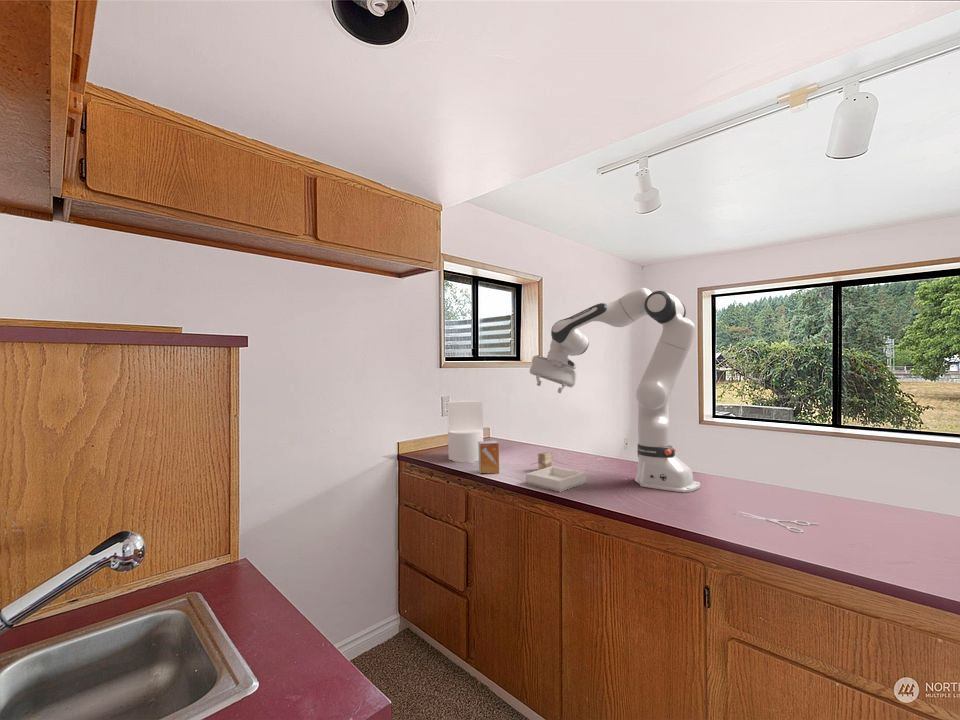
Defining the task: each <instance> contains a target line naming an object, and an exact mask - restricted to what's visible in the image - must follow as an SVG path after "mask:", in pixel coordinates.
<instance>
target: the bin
mask: <svg viewBox="0 0 960 720" xmlns="http://www.w3.org/2000/svg"><path fill="white" fill-rule="evenodd" d="M586 476H587V475H586V472H583V471H577V470H572V469H568V468H564V467H558V466H554V465H552V466H551V467H548V468H544V469H541V470H538V469H537V470H533V471H531V472H526V473H525V484H526V485H529V486H532V485H533V487H536V486H537V487H536V488H541V489H544V488H545V490H548V489H551V490H550V491H552V490H555V491H554V492H556V491H559V492H558V493H561V492H560V491H562V492H564V491H563V490H565V491H568V490H570V488H571V489H574V488H576V486H577V487H579V485H580V486H582V485H585V484H587V483H586V481H587V477H586ZM573 487H574V488H573ZM567 489H568V490H567Z"/></svg>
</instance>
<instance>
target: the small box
mask: <svg viewBox="0 0 960 720" xmlns="http://www.w3.org/2000/svg"><path fill="white" fill-rule="evenodd" d="M499 445H500V444H499V442H498V441H497V440H483V441H478V451H479V461H478V471H480V472H479V474H481V473H494V474H500V446H499Z"/></svg>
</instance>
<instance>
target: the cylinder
mask: <svg viewBox="0 0 960 720" xmlns="http://www.w3.org/2000/svg"><path fill="white" fill-rule="evenodd" d="M446 404H447V437H448V439H447V442H448V443H447V444H448V445H447V446H448V447H447V448H448V460H449V459H450V460H453V461H461V462H468V463H471V462H470V461H477V462H479V461H478V460H479V451H478V441H484V419H483V418H484V417H483V416H484V414H483V413H484V411H483V410H484V409H483V401H482V400H476V399H475V400H470V399H468V400H466V399H465V400H451V401H450V400H449V401H448V402H447V403H446ZM450 460H449V461H450Z"/></svg>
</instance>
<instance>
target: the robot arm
mask: <svg viewBox="0 0 960 720" xmlns="http://www.w3.org/2000/svg"><path fill="white" fill-rule="evenodd" d="M686 314H687V311H686V306H685V305H684V303H683V302H682V301H680V299H679V298H678V297H676V296H675V295H674V294H671V293H670V292H668V291H666V290H655V291H651V290H650V289H648V288H646V287H639V288H636V289H634V290H632V291H630V292H628V293H626V294H624V295H623V296H621V297H619V298H618V299H616V300H614V301H611V302H607V303H605V302H604V303H602V302H600V303H596V304H594V305H592V306H590V307H588V308H585V309H584V310H581V311H579V312H577V313H575V314H572V315H571V316H569V317H566V318H563V319H559V320H558V321H556V322H555V323H554V324H553V325H552V327H551V329H550V331H551V332H550V334H551V335H550V336H551V341H550V345H549V351H548V352H547V355H546V357H544V356H541V355H533V356H532V359H531V362H532V364H531V365H530V369H529V374H531V375H533V376H535V379H536V386H539V387H541V385H542V381H541V380H540V378H542V379H545V380H548V381H550V382H553V383H556V384H559V385H561V387H558V389H557V393H559V394H562V392H563V389H565V388H566V387H567V388H573V387H574V386H575V384H576V381H577V371H576V368H577V366H578V365H577V364H576V363H575V362H574V361H572V360H571V359H569V356H572V357H574V356H580V355H583V354H585V353H586V351H587V350H588V347H589V345H590V341H589V338H588V336H586V335H585V333H583V332H582V331H580V330H579V328H582V327H583V326H585V325H588V324H589V323H592V322H600V323H604V324H607V325H609V326H611V327H614V328H624V327H626V326H629V325H630V324H632V323H634V322H636V321H638V320H639V319H641V318H642V317H644V316H649V317H650V318H651V319H653V320H654V321H656V322H657V323H658V324H661V325H662V332H661V335H660V337H659V339H658V342H657V343H656V346H655V349H654V351H653V353H652V355H651V358H650V360H649V362H648V364H647V367H646V369H645V371H644V373H643V375H642V378H641V380H640V382H639V384H638V385H637V386H638V387H637V389H636V393H635V396H636V397H635V398H636V400H637V402H638V405H637V407H638V408H637V409H638V412H637V413H638V415H637V429H638V430H637V431H638V432H637V434H638V435H637V436H638V443H637V458H638V463H637V469H636V470H637V471H636V475H635V478H634V481H635V482H636V483H637V484H639V486H640V487H643V488H650V489H656V490H662V491H669V492H670V491H671V492H677V493H691V492H694V491H697V490H699V489H700V488H701V483H700V482H699V481H696V480H694V475H693V474H694V473H693V471H692V469H691V467H690V466H688V465H687V464H686V463H684V462H683V461H682V460H681V459H679V458H678V457H677V456H676V452H677V451H678V450H677V447H673V446H672V445H671V443H670V441H671V440H670V439H671V438H670V408H669V407H670V406H669V405H670V403H669V402H670V400H669V397H670V395H671V393H672V391H673V388H674V386H675V383H676V381H677V379H678V376H679V374H680V371H681V368H682V367H683V365H684V363H685V360H686V358H687V355H688V353H689V351H690V349H691V347H692V343H693V340H694V336H695V332H696V326H695V323H694V322H693V321H692V320H690V319H689V318H687V317H686Z"/></svg>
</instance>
